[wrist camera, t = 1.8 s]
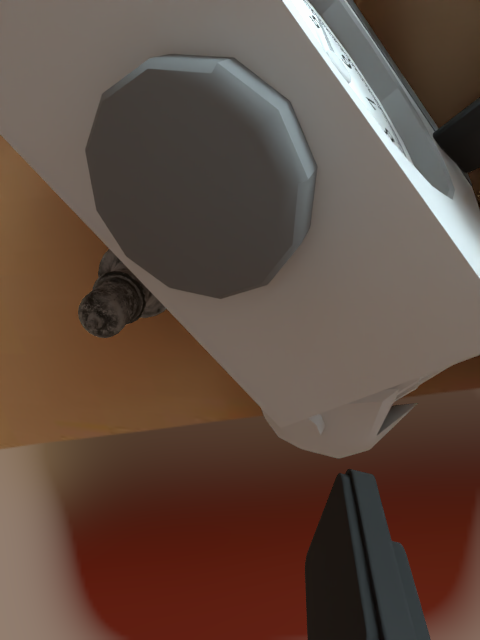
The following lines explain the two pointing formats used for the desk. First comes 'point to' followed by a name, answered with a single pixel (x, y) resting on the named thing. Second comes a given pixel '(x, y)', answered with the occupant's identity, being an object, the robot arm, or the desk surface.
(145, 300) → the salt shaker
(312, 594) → the robot arm
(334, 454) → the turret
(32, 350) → the desk surface
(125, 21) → the alarm clock
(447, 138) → the airplane toy
